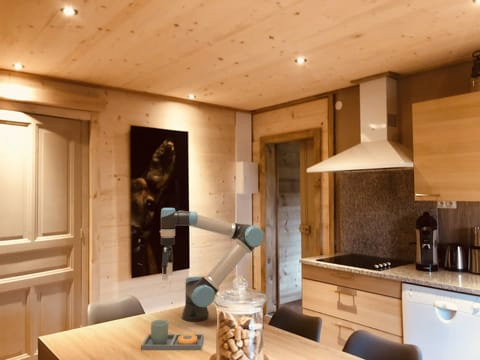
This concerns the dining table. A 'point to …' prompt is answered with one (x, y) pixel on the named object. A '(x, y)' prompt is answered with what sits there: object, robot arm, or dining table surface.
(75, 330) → the dining table surface
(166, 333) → the cup
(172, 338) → the tray
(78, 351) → the dining table surface
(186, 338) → the orange round thick disc
